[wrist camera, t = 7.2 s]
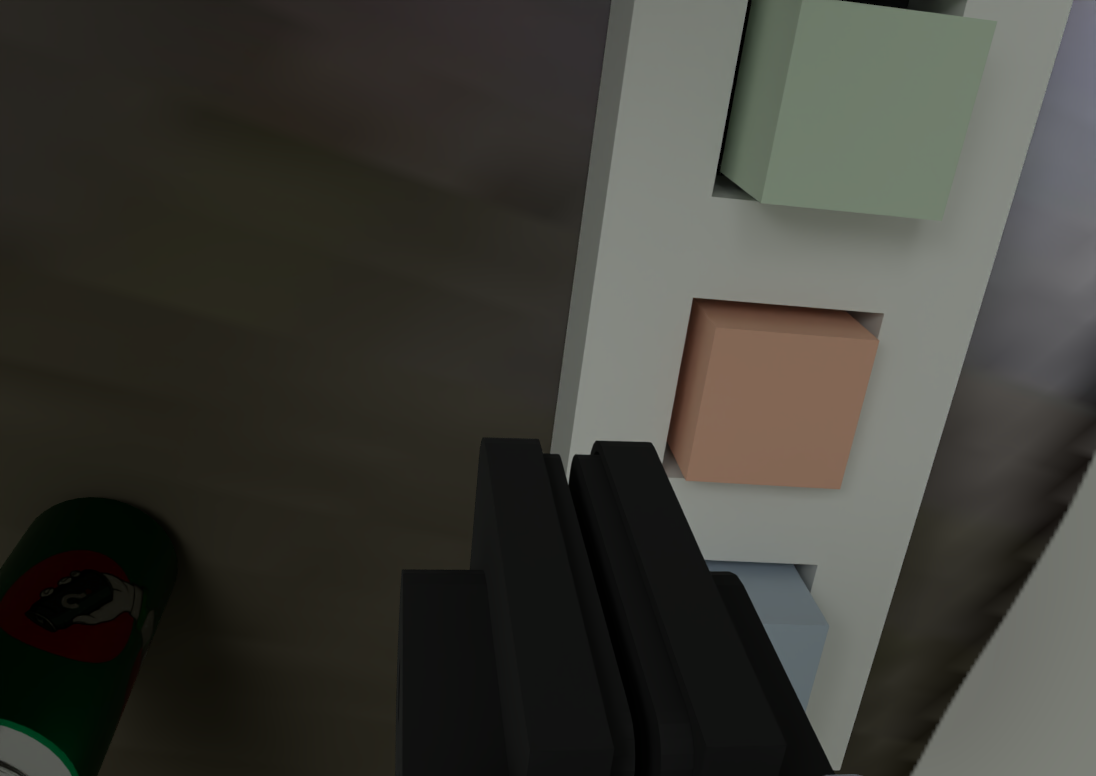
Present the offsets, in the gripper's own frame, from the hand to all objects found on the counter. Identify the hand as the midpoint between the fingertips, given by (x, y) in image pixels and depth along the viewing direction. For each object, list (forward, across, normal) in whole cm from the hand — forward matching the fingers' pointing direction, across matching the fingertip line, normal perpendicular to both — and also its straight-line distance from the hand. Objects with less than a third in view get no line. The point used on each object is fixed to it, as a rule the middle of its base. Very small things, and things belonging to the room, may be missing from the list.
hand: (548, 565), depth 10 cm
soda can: (+22, +11, +16) cm, 29 cm away
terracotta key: (+21, -10, +7) cm, 25 cm away
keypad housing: (+22, -10, +7) cm, 25 cm away
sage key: (+20, -10, -2) cm, 23 cm away
